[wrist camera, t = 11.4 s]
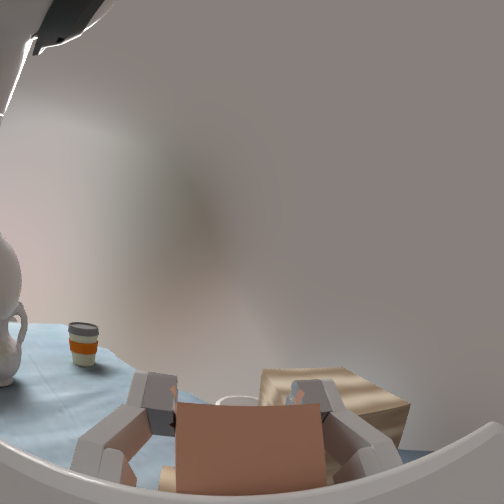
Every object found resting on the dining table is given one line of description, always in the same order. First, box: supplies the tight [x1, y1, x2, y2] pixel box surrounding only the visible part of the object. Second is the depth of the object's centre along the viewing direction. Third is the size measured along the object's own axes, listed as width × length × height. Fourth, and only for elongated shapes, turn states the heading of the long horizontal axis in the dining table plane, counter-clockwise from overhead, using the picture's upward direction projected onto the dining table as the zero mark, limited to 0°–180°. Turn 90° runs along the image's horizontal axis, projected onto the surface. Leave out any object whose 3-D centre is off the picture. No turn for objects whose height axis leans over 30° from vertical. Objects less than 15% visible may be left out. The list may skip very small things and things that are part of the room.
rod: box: [175, 402, 327, 496], centre depth 16 cm, size 28×4×4 cm
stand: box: [258, 367, 410, 486], centre depth 27 cm, size 16×12×26 cm
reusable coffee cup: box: [68, 322, 99, 366], centre depth 88 cm, size 13×13×15 cm
